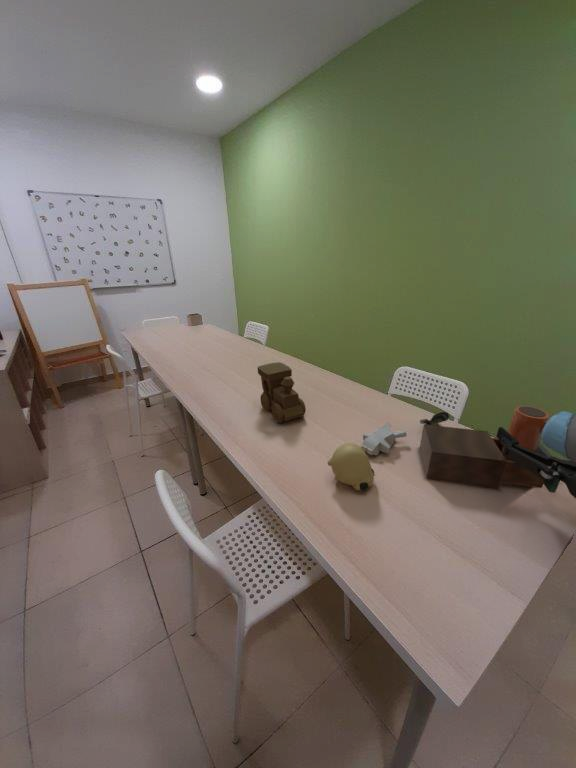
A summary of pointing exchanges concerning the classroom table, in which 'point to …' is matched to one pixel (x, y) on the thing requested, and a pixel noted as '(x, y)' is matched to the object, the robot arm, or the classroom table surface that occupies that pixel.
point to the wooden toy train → (280, 392)
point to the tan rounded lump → (352, 466)
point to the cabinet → (461, 456)
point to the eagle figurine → (436, 419)
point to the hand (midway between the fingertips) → (528, 432)
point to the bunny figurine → (380, 440)
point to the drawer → (526, 472)
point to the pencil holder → (528, 426)
